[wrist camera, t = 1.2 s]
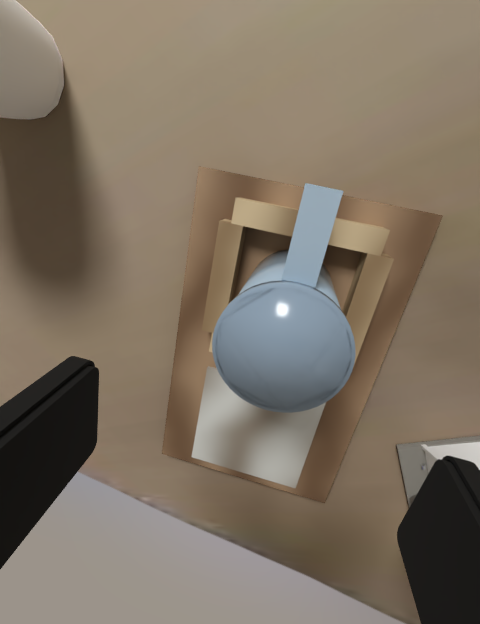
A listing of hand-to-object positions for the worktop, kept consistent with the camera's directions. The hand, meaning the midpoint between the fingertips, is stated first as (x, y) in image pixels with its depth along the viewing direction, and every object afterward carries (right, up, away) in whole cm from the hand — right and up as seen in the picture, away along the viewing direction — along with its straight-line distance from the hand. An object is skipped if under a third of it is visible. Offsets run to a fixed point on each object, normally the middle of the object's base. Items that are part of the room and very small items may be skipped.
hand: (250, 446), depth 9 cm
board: (+2, 0, +18) cm, 18 cm away
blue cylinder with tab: (+4, +7, +14) cm, 16 cm away
